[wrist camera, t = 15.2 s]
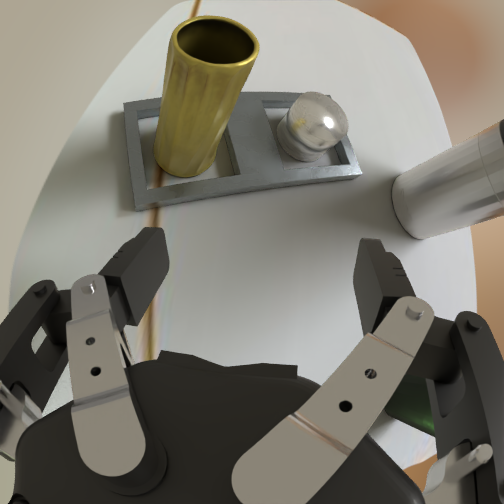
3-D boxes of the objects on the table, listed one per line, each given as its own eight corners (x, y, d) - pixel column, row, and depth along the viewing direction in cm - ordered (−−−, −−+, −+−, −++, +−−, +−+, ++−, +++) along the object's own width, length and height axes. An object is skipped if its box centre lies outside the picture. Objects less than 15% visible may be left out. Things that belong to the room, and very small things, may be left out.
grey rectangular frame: (324, 101, 34) (344, 79, 29) (354, 178, 33) (381, 162, 28) (124, 111, 26) (121, 80, 21) (136, 211, 25) (132, 191, 20)
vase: (142, 163, 26) (143, 50, 12) (170, 115, 27) (193, 2, 14) (201, 187, 27) (248, 89, 14) (224, 137, 29) (278, 34, 15)
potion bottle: (427, 366, 32) (546, 375, 15) (408, 424, 30) (522, 454, 13) (390, 354, 30) (529, 365, 14) (367, 420, 28) (498, 464, 11)
